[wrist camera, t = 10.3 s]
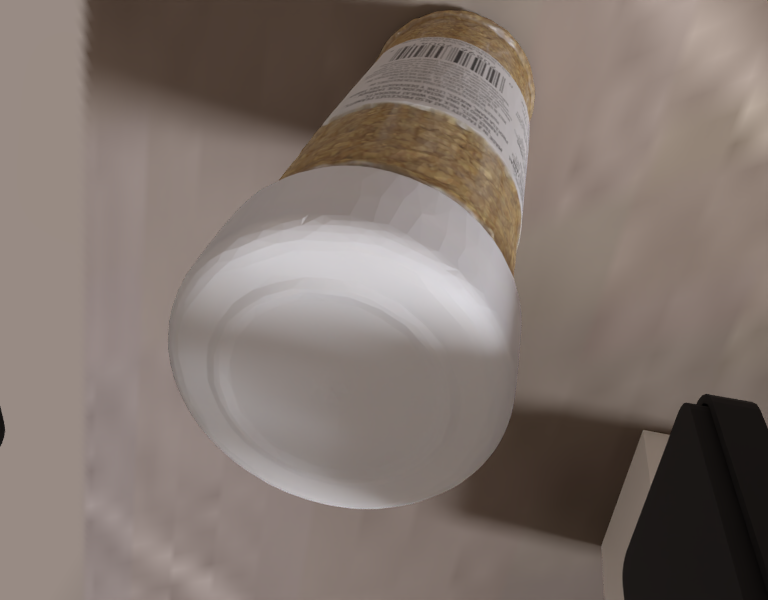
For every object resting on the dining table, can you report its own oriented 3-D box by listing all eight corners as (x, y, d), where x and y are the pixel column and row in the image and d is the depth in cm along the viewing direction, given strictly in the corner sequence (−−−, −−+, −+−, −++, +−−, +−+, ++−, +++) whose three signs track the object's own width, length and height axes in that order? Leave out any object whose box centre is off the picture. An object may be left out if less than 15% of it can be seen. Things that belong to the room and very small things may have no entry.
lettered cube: (763, 579, 28) (808, 741, 23) (601, 544, 28) (609, 693, 23) (831, 457, 24) (902, 616, 19) (645, 421, 25) (666, 566, 20)
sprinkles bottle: (345, 116, 21) (110, 414, 10) (427, -31, 19) (236, 146, 8) (478, 199, 22) (395, 571, 11) (574, 67, 19) (598, 367, 8)
